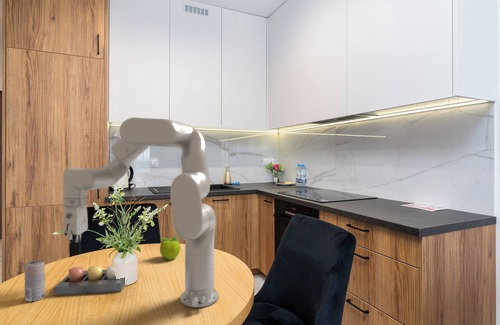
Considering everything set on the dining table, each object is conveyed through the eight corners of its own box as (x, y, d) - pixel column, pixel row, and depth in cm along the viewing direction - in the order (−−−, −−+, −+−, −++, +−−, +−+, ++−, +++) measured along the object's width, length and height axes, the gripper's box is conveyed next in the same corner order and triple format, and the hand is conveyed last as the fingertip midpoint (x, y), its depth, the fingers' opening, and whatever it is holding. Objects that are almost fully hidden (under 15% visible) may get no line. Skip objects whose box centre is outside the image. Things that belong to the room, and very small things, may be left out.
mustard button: (99, 281, 106) (99, 270, 106) (85, 282, 106) (85, 270, 106) (103, 276, 111) (103, 265, 111) (90, 276, 110) (90, 266, 110)
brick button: (80, 282, 105) (80, 271, 105) (66, 283, 105) (66, 271, 105) (85, 277, 110) (85, 266, 110) (72, 277, 109) (71, 267, 109)
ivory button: (118, 280, 107) (118, 269, 107) (105, 280, 107) (105, 269, 107) (122, 275, 112) (122, 264, 112) (109, 275, 111) (109, 265, 111)
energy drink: (41, 293, 102) (41, 258, 101) (47, 298, 98) (46, 262, 98) (22, 299, 98) (22, 263, 97) (27, 304, 94) (27, 267, 94)
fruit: (159, 256, 140) (159, 235, 140) (179, 254, 143) (179, 234, 142) (159, 263, 131) (159, 240, 131) (181, 261, 134) (181, 239, 134)
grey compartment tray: (120, 291, 103) (120, 283, 103) (53, 296, 100) (53, 287, 100) (130, 275, 117) (130, 268, 117) (72, 279, 114) (72, 271, 114)
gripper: (77, 205, 100) (77, 259, 100) (93, 199, 115) (93, 246, 115) (53, 206, 99) (53, 260, 99) (73, 199, 114) (72, 246, 114)
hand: (74, 252), depth 107 cm, fingers closed
